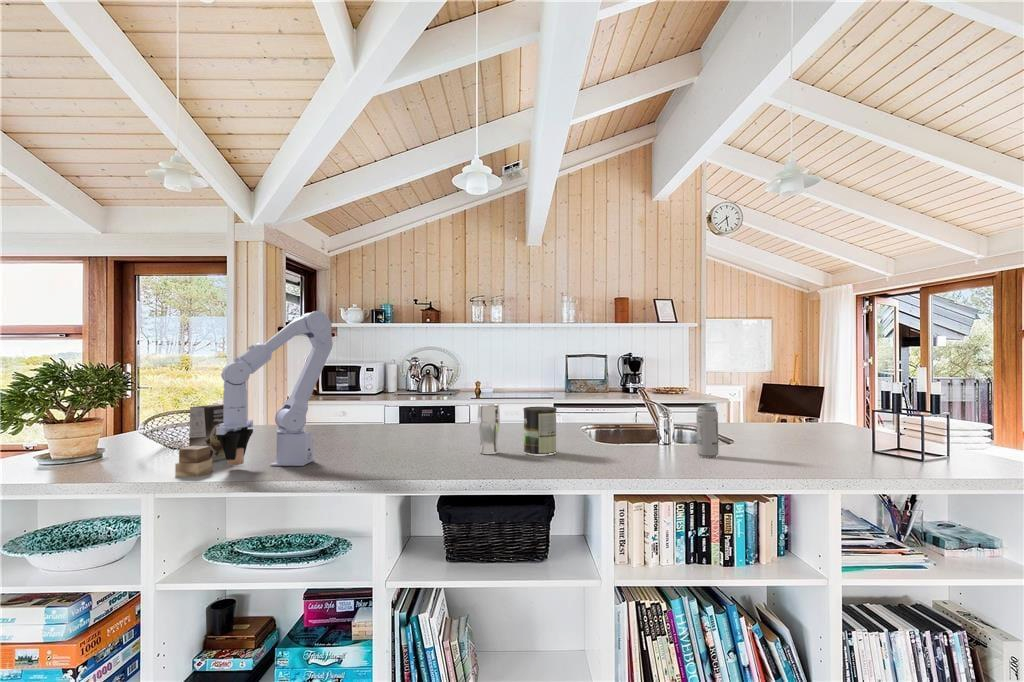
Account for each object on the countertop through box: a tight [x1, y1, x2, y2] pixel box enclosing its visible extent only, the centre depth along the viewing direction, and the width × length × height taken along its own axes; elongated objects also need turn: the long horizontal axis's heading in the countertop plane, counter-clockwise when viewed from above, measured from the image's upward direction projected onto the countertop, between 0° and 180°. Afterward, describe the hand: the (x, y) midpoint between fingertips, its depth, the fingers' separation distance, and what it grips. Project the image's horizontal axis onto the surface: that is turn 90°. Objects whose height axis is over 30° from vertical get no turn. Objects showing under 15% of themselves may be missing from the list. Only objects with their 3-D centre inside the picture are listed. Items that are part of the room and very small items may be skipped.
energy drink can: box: [696, 405, 719, 458], centre depth 163 cm, size 6×6×15 cm
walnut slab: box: [178, 446, 210, 463], centre depth 142 cm, size 5×5×4 cm
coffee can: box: [522, 406, 557, 454], centre depth 170 cm, size 10×10×14 cm
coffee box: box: [188, 404, 226, 463], centre depth 160 cm, size 9×6×16 cm
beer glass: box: [477, 403, 501, 453], centre depth 171 cm, size 7×7×15 cm
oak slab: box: [174, 459, 213, 477], centre depth 142 cm, size 6×6×4 cm
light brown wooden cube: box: [226, 447, 245, 466], centre depth 147 cm, size 4×4×4 cm
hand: (235, 457), depth 147 cm, fingers closed on light brown wooden cube, 4 cm apart
